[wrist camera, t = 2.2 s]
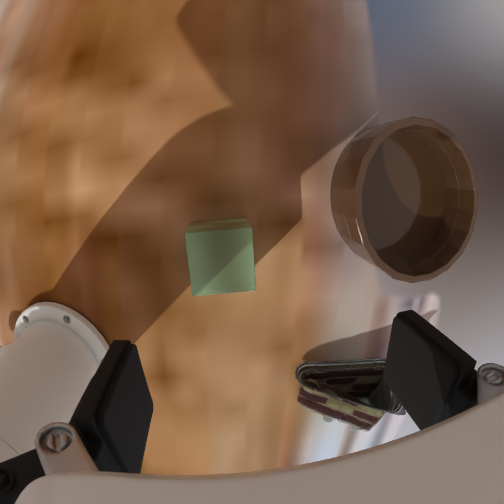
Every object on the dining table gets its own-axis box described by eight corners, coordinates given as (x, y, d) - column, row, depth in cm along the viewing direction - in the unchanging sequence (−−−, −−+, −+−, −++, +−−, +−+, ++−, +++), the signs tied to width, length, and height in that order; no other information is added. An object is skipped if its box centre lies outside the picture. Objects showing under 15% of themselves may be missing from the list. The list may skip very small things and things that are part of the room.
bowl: (330, 272, 26) (353, 292, 22) (326, 120, 23) (349, 109, 18) (441, 258, 27) (471, 272, 23) (442, 132, 24) (475, 129, 19)
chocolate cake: (273, 409, 30) (359, 467, 24) (287, 374, 27) (390, 441, 20) (319, 364, 37) (394, 411, 30) (336, 327, 33) (422, 378, 27)
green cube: (196, 275, 25) (192, 296, 21) (190, 222, 24) (184, 233, 20) (250, 271, 26) (256, 290, 21) (246, 217, 24) (252, 227, 20)
